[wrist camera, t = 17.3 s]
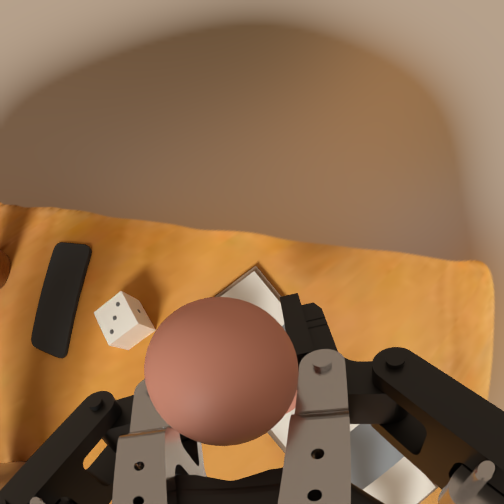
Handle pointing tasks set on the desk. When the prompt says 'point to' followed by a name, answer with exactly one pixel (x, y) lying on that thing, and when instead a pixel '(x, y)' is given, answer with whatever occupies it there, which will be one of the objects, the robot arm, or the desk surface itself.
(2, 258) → the disposable coffee cup
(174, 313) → the pawn
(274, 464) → the desk surface
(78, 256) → the phone
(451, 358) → the desk surface
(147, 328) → the die
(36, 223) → the desk surface
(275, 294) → the board
